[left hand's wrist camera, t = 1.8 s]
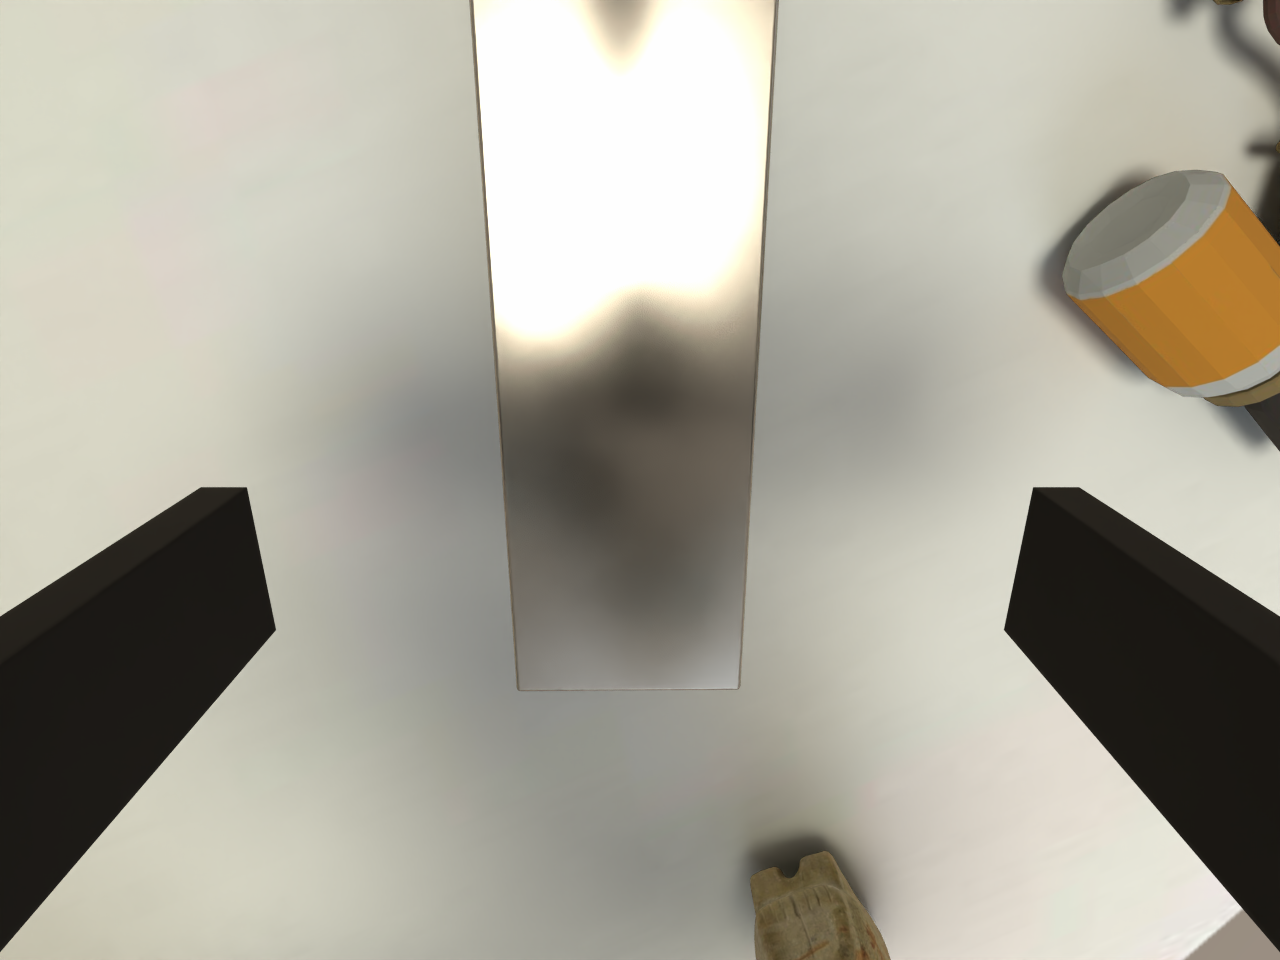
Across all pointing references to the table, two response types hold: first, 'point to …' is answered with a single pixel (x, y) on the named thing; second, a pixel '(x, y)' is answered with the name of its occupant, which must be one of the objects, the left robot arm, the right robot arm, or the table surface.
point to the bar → (626, 326)
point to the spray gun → (1188, 285)
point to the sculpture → (812, 915)
